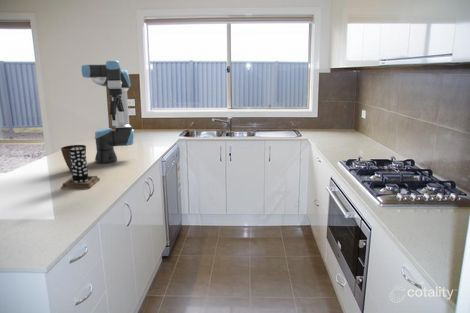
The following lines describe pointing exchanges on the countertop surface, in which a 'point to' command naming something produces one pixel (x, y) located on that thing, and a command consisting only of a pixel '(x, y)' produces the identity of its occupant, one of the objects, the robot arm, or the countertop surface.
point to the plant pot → (67, 155)
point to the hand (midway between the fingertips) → (118, 124)
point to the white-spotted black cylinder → (78, 164)
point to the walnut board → (82, 185)
